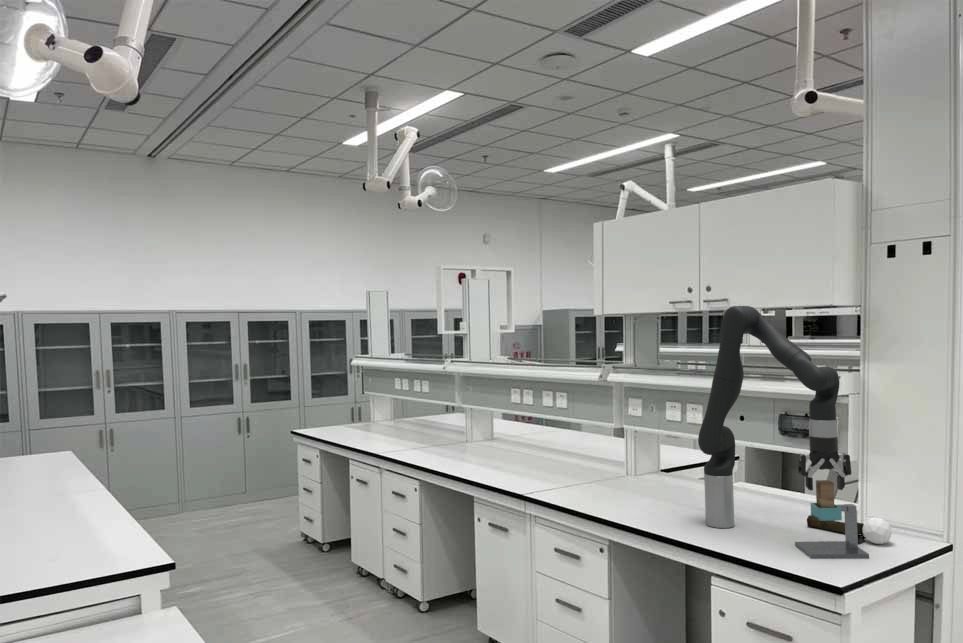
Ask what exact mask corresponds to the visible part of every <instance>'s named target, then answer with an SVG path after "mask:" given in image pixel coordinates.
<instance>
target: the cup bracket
mask: <svg viewBox="0 0 963 643" xmlns="http://www.w3.org/2000/svg"><path fill="white" fill-rule="evenodd" d="M834 507H835V508H820V507H818V506H817V502H810V515H812V516H813V517H815V518H816V519H818V520H820V521H843V520H842V519H843V518H842V517H843V516H842V515H843V514H842V512H844V523H845V533H844V539H845V540H844V541H841V540H840V541H839V540H837V541H836V540H835V541H833V540H831V541H830V540H829V541H824V540H823V541H794V546H795V547H796V548H797V549H799V550H800V551H801V552H802V553H804V554H805V555H806V556H807V557H809V558H810V559H812V560H813V559H815V560H817V559H818V560H819V559H820V560H821V559H825V560H826V559H870V554H869V553H868V552H866V551H865V550H864V549H862V548H860V547H859V540H858V539H859V537H858V534H857V522H858V515H857V514H858V512H857V505H855V504H853V503H845V504H844V503H843V504H836V503H834Z"/></svg>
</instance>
